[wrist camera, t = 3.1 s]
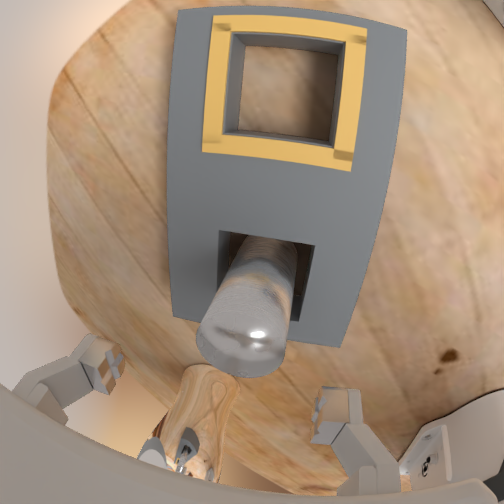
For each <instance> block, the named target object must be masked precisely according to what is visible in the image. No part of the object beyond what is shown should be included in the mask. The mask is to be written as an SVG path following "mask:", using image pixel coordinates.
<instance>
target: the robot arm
mask: <svg viewBox="0 0 504 504" xmlns="http://www.w3.org/2000/svg"><path fill="white" fill-rule="evenodd" d="M121 350H122V349H121V346H120V344H118V343H115V342H112V341H110V340H107V339H104V338H101V337H99V336H96V335H93V334H91V333H90V334H88V335H86V336H85V337H84V339H83V340H82V341H81V342H80V344H79V345H78V346H77V347H76V349H75V350H74V351H73V352H72V354H71V355H70V356H69V357H67V356H66V357H63V358H61V359H58V360H56V361H54V362H51V363H49V364H47V365H44V366H42V367H40V368H37V369H35V370H32V371H30V372H28V373H26V374H25V375H24V376H23V378H22V379H21V380H20V382H19V383H18V384H17V385H16V387H15V388H14V389H13V391H12V392H11V391H10V390H8V389H7V388H6V387H4V386H3V385H2V384H0V504H504V390H501V391H497V392H494V393H491V394H488V395H486V396H483V397H481V398H479V399H477V400H475V401H473V402H471V403H469V404H467V405H466V406H464V407H462V408H460V409H459V410H457V411H455V412H454V413H452V414H450V415H448V416H446V417H444V418H441V419H438V420H436V421H433V422H430V423H428V424H426V425H424V426H423V427H422V428H421V429H420V431H419V433H418V434H417V436H416V437H415V439H414V440H413V442H412V443H411V445H410V446H409V448H408V449H407V451H406V452H405V453H404V455H403V456H402V458H401V459H400V460H399V462H397V461H396V460H395V458H394V457H393V456H392V455H391V453H390V452H389V451H388V450H387V448H386V447H385V446H384V445H383V444H382V442H381V441H380V440H379V439H378V437H377V436H376V435H375V434H374V432H373V431H372V430H371V429H370V427H369V426H368V425H367V424H363V413H362V402H361V392H360V390H359V389H346V388H337V387H325V386H321V388H320V389H319V393H318V397H317V398H316V399H315V401H314V404H313V408H312V415H311V420H312V421H313V425H312V427H311V432H310V443H315V444H326V445H331V448H332V449H333V451H334V453H335V455H336V456H337V458H338V460H339V462H340V463H341V465H342V467H343V468H344V470H345V472H346V474H347V475H348V477H349V479H347V480H346V481H345V482H344V483H343V484H342V485H340V486H339V487H338V488H337V496H313V495H296V494H284V493H275V492H267V491H260V490H253V489H246V488H241V487H235V486H230V485H225V484H220V483H216V482H211V481H207V480H203V479H199V478H195V477H191V476H188V475H184V474H181V473H177V472H174V471H171V470H167V469H164V468H161V467H158V466H155V465H152V464H149V463H147V462H144V461H141V460H139V459H136V458H133V457H131V456H128V455H126V454H123V453H121V452H118V451H116V450H114V449H111V448H109V447H107V446H105V445H102V444H100V443H98V442H96V441H94V440H92V439H90V438H88V437H86V436H83V435H82V434H80V433H78V432H76V431H74V430H72V429H70V428H68V427H67V426H65V424H66V423H67V421H68V417H67V415H66V414H65V413H64V411H63V410H62V409H64V408H65V407H67V406H69V405H70V404H72V403H73V402H75V401H77V400H78V399H80V398H82V397H83V396H85V395H86V394H88V393H90V392H91V391H93V389H94V390H97V391H99V392H102V393H104V394H107V395H110V393H111V391H112V390H113V388H114V387H115V385H116V382H115V379H117V378H119V377H121V375H122V373H123V371H124V368H125V359H124V357H123V355H122V354H121V353H120V351H121ZM400 474H402V475H410V482H411V488H412V491H406V492H401V483H400Z"/></svg>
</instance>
